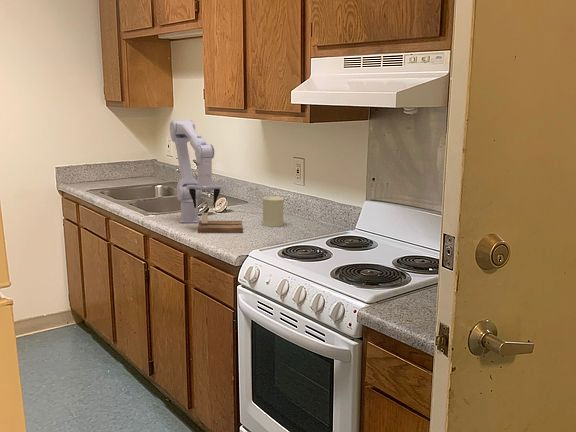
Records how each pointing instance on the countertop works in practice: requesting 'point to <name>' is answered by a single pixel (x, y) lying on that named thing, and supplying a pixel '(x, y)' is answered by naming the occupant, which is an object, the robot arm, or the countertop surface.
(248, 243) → the countertop surface
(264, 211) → the can
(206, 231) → the board
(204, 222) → the fader
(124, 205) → the countertop surface
